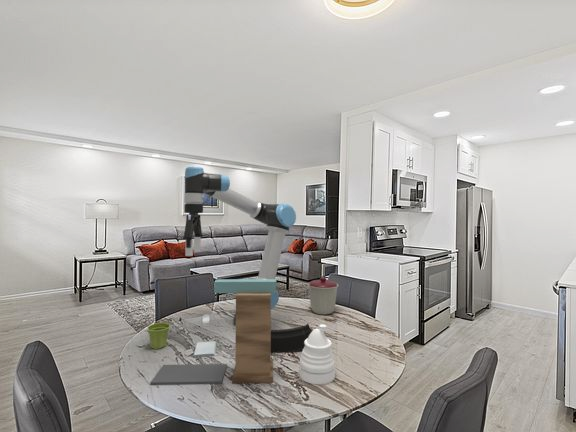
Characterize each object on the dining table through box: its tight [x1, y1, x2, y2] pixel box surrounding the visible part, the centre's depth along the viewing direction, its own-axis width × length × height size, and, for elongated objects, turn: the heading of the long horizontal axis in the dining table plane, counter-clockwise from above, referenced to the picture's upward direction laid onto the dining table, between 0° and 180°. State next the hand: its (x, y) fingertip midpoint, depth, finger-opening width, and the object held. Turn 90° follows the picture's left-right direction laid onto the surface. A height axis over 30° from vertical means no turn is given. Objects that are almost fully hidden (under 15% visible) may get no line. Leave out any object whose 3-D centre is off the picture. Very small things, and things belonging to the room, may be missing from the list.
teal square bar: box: [213, 278, 277, 294], centre depth 110 cm, size 4×22×4 cm, turn 92°
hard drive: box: [192, 340, 217, 358], centre depth 129 cm, size 2×8×12 cm
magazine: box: [271, 323, 314, 354], centre depth 128 cm, size 17×3×30 cm
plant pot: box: [146, 322, 171, 350], centre depth 132 cm, size 9×9×9 cm
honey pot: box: [299, 324, 336, 386], centre depth 110 cm, size 13×13×18 cm
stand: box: [231, 293, 274, 384], centre depth 110 cm, size 12×14×30 cm
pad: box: [149, 363, 228, 386], centre depth 109 cm, size 12×24×1 cm, turn 92°
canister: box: [307, 275, 339, 316], centre depth 179 cm, size 18×18×21 cm
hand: (193, 253), depth 128 cm, fingers open, 13 cm apart
